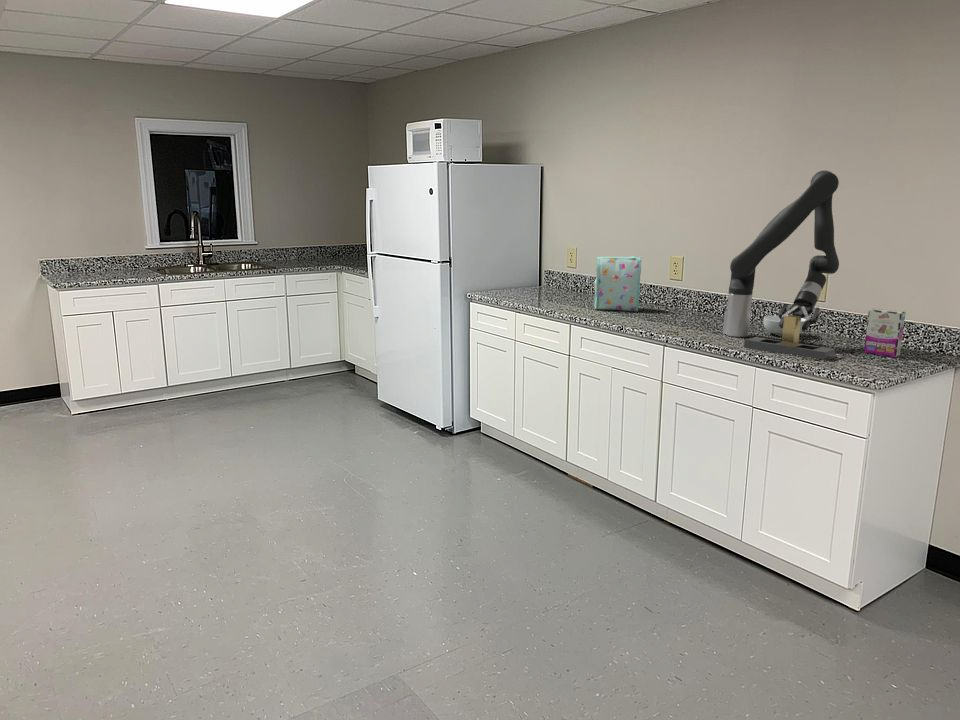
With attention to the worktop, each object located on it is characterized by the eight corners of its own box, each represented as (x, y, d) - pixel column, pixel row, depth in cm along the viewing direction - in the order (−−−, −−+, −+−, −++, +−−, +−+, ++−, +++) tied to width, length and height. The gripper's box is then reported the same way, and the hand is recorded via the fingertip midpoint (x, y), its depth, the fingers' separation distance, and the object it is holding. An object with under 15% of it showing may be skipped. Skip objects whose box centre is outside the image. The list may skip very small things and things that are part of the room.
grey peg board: (743, 347, 279) (744, 339, 278) (755, 344, 285) (755, 337, 284) (824, 360, 258) (825, 352, 257) (834, 357, 264) (835, 349, 263)
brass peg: (781, 347, 281) (784, 316, 278) (786, 345, 284) (789, 315, 281) (792, 349, 278) (796, 317, 275) (797, 347, 281) (801, 316, 278)
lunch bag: (637, 307, 380) (641, 255, 374) (640, 312, 364) (643, 257, 358) (593, 306, 383) (595, 253, 377) (593, 310, 367) (595, 256, 362)
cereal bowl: (770, 330, 319) (771, 313, 318) (810, 335, 309) (812, 318, 307) (756, 335, 306) (758, 318, 305) (797, 340, 296) (799, 323, 295)
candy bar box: (900, 356, 268) (906, 311, 265) (895, 358, 265) (902, 312, 261) (867, 351, 276) (873, 308, 273) (862, 353, 273) (868, 309, 269)
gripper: (787, 288, 287) (771, 319, 282) (824, 291, 277) (808, 324, 272) (792, 300, 292) (776, 332, 287) (829, 304, 282) (812, 337, 277)
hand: (791, 328), depth 279 cm, fingers open, 8 cm apart
